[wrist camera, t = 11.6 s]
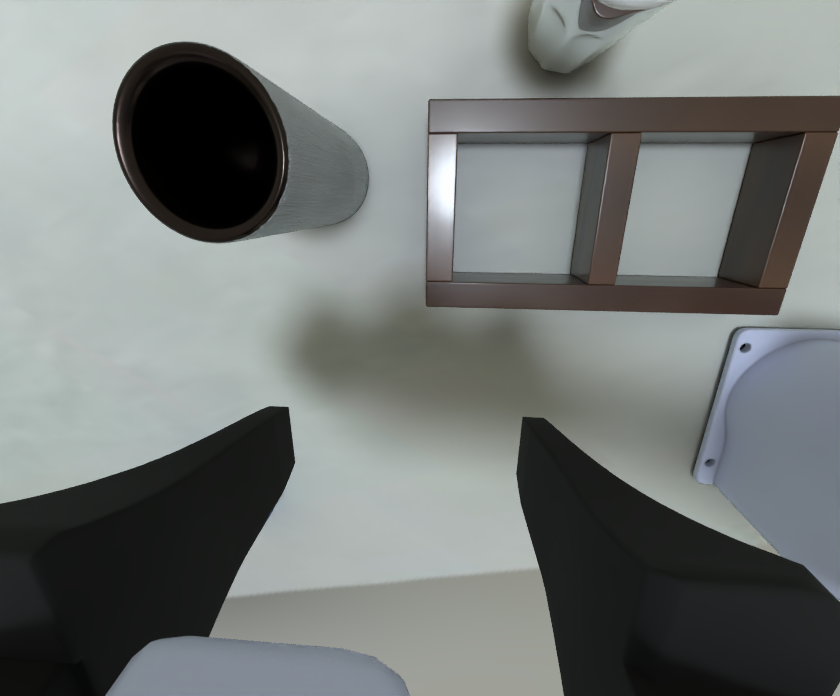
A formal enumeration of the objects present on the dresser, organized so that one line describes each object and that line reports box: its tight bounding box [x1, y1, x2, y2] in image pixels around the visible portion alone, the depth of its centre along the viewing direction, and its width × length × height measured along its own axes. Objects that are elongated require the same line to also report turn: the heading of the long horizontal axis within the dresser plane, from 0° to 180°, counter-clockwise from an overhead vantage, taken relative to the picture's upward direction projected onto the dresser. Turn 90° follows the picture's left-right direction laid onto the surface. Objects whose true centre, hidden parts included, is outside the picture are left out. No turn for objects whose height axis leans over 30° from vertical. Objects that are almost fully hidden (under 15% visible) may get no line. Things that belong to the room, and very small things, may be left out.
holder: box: [426, 96, 840, 315], centre depth 18 cm, size 8×16×3 cm, turn 90°
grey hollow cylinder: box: [112, 42, 368, 243], centre depth 15 cm, size 4×4×10 cm
